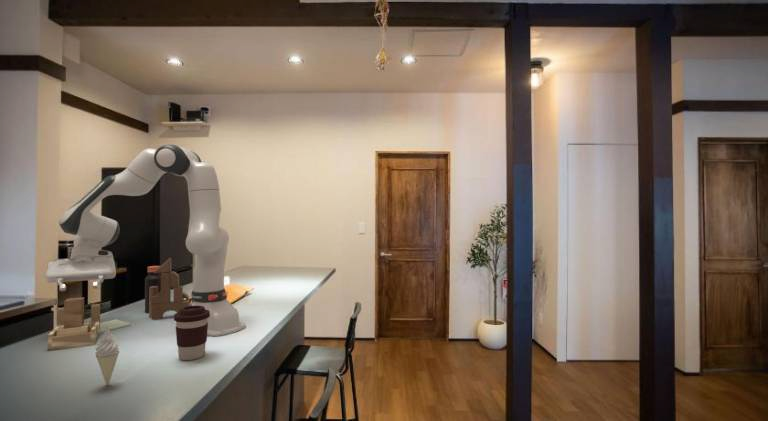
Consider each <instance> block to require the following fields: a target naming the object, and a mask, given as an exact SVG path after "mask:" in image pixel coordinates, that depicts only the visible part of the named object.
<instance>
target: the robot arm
mask: <svg viewBox="0 0 768 421" xmlns="http://www.w3.org/2000/svg"><path fill="white" fill-rule="evenodd" d="M166 173H167V174H171V175H174V176H177V177H183V178H185V181H186V183H187V192H188V204H189V205H188V206H189V221H188V222H189V223H188V231H187V236H186V238H185V247H186V249H187V250H188V252H189V253H191V254H192V255H196V260H195V265H194V267H193V270H192V290H191V294H190V296H191V301H192V302H191V305H190V306H195V305H199V306H204V308H205V310H209V311H210V316H209V317H208V319H207V322H208V329H207V336H209V337H219V336H225V335H229V334H232V333H236V332H239V331H241V330H243V329H245V328H246V327H247V326H246V323H243V322H241V321H240V315H239V311H238V309H237V308H235V307H234V306H233V304H232V303H231V302H230V301H229V300H228V294H229V292H228V291H226V288H225V266H226V260H227V259H226V258H227V252H228V251H227V250H228V243H229V240H230V238H229V233H228V232H227V231H226V229H224V228H223V227H221V226H220V216H221V212H222V203H221V202H222V201H221V194H220V185H219V179H218V175H217V171H216V168H215V167H214V166H213V165H212V164H210V163H209V162H205V161H204V162H202V159H201V158H200V156H199V155H198V154H196V152H194V151H192V150H189V149H188V148H186V147H182V146H180V145H175V144H164V145H160V146H159V147H158V148H157V149H155V148H145V149H143V150H142V151H141V152H139V154H137V156H135V158H134V159H133V160H132V161H131V162H130V163H129V164H128V165H127V167H126V168H125V169H124V170H122V172H119V173H117V174H115V175H114V174H113V175H108V176H106V177H105V178H104V179H102V180H101V181H100V182H99V183H97V184H96V185H95V186H94V187H93V188H92V189H91V190H89V192H87V194H85V195H84V196H83V197H82V198H81V199H80V200H78V201H77V203H75V204H74V205H72V206H71V207H70V208H68V209H67V210H66V211H65V212H64V213H63V214H62V215H61V216H60V219H59V222H58V223H59V226H60V227H59V228H60V229H61V230H62V231H63V232H64V233H65V234H68V235H73V236H74V239H73V247H72V248H71V249H72V250H71V253H70V256H69V257H70V258H60V259H58V258H57V259H54V260H52V261H49V262H48V265H47V270H46V272H45V276H44V278H45V280H46V281H47V282H48V283H51V284H52V283H57V284H58V286H59V292H65V291H66V289H67V285H66V284H64V282H66V283H67V282H79V281H80V282H81V281H93V284H92V285H93V286H92V288H93V289H94V290H95V289H99V288H100V285H101V284H102V283H104V280H109V279H110V280H111V279H114V278H115V277H116V276H117V275H116V274H117V270H116V264H115V259H114V255H113V252H112V251H109V250H104V249H102V248H104V247H107V246H109V245H111V244H113V243H115V242H116V240H117V239H118V238H119V235H120V231H121V227H120V224H119V222H118V221H117V220H115V219H113V218H109V217H107V216H103V215H100V214H98V213H95V212H93V211H92V210H93V208H95V207H96V206H97V205H98V204H99V203H100V202H101V201H102V200H103V199H105V198H106V197H109V196H114V195H115V196H117V195H118V196H128V197H129V196H130V197H137V196H138V197H139V196H144V195H147V194H148V193H149V192H150V191H152V190H153V188H154V187H155V186H156V184H157V183H158V181H159V180H160V179H161V177H162V176H163V175H164V174H166ZM94 280H96V281H94Z"/></svg>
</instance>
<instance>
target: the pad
mask: <svg viewBox="0 0 768 421" xmlns="http://www.w3.org/2000/svg"><path fill="white" fill-rule="evenodd" d="M129 325H130V326H132V323H129V322H126V321H123V320H121V319H116V318H115V319H111V320H107V321H102V322H101V321H100V333H103V332H104V333H105V331H106V329H107V327H108V329H109V331H111V330H116V328H117V329H121V328H125V327H130V326H129ZM90 327H91V324H90ZM120 327H121V328H120Z"/></svg>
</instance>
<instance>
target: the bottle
mask: <svg viewBox="0 0 768 421" xmlns="http://www.w3.org/2000/svg"><path fill="white" fill-rule="evenodd" d="M160 266H161V265H151V266H147V274H148V275H147V276H145V278H144V313H147V314H149V288H150V287H151V286H158V294H159V293H160V291H161V273H154V272H155V271H156V270H157V269H158V268H159V267H160Z"/></svg>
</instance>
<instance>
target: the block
mask: <svg viewBox="0 0 768 421" xmlns="http://www.w3.org/2000/svg"><path fill="white" fill-rule="evenodd" d="M63 304H64V305H63V308H64V329H67V328H76V327H82V325H83V324H84V323H85V297H74V298H73V297H70V298H66V299H65V300H64V302H63Z"/></svg>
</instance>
